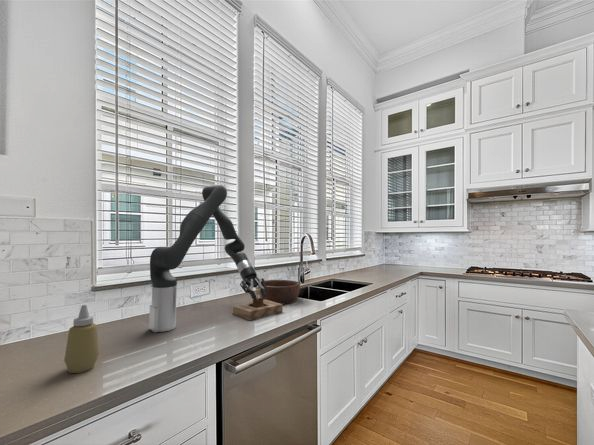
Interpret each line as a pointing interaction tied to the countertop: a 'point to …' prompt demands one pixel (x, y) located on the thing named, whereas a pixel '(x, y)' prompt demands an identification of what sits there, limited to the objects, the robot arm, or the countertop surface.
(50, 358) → the countertop surface
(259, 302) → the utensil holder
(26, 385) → the countertop surface
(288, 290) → the wooden bowl
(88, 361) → the squeeze bottle
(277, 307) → the wooden block with hole
